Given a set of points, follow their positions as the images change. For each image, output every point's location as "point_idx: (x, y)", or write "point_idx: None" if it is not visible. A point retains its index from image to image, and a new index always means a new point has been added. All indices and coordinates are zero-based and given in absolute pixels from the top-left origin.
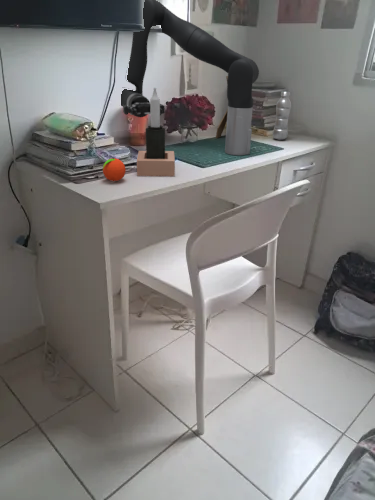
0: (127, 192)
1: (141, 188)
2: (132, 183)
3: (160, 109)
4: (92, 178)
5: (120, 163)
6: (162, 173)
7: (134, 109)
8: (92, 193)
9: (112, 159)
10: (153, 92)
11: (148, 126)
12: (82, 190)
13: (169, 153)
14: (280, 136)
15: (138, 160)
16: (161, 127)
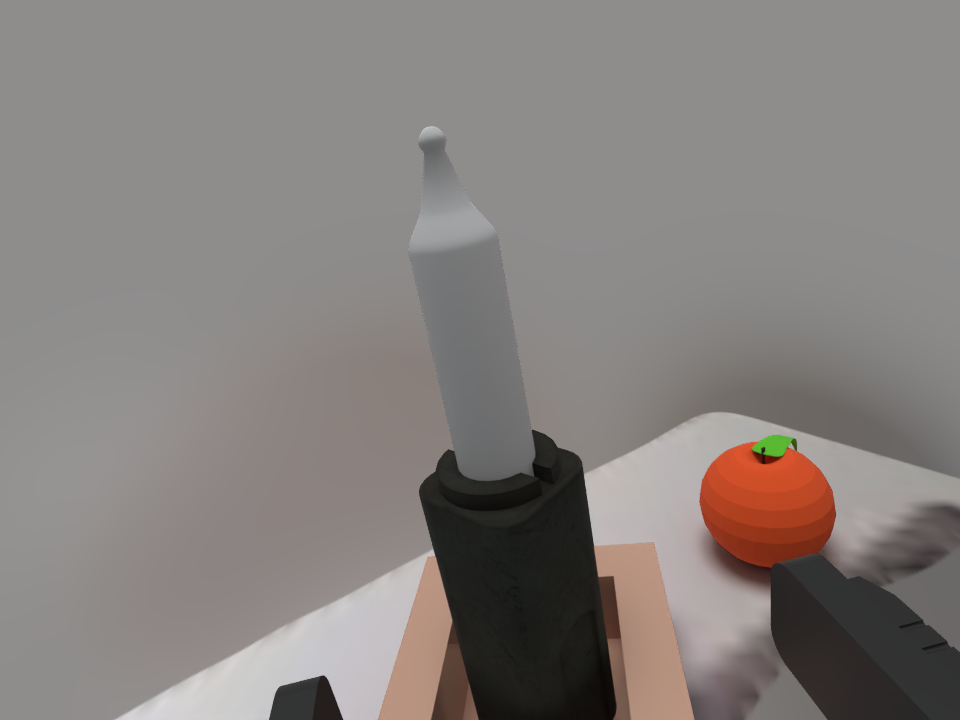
0: (655, 465)
1: (608, 495)
2: (660, 531)
3: (295, 685)
4: (920, 568)
5: (717, 459)
6: None
7: (816, 557)
8: (788, 446)
9: (765, 447)
10: (454, 172)
11: (554, 448)
12: (850, 459)
13: (417, 709)
14: None
15: (644, 547)
16: (450, 452)
